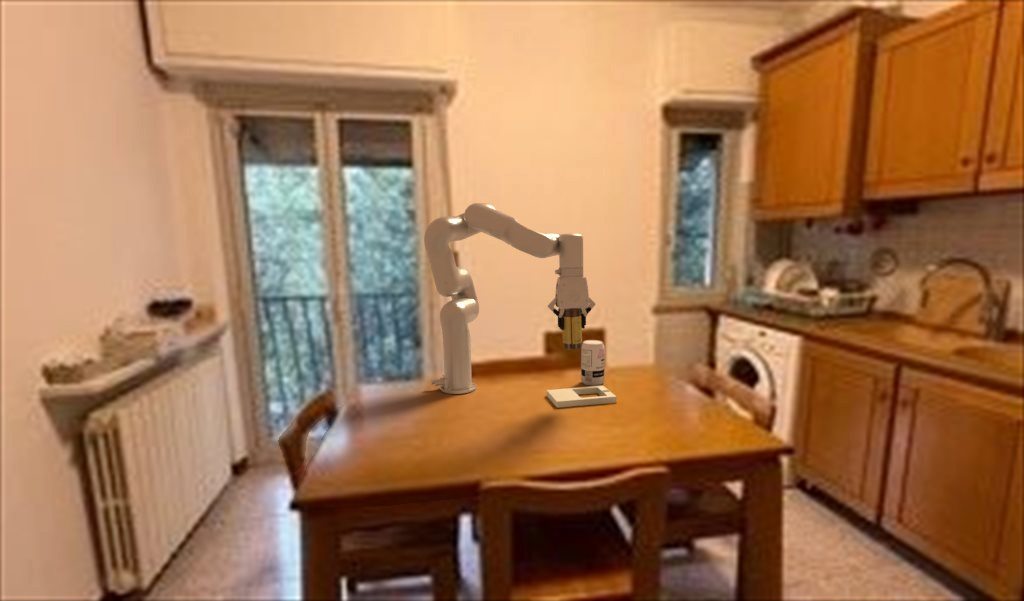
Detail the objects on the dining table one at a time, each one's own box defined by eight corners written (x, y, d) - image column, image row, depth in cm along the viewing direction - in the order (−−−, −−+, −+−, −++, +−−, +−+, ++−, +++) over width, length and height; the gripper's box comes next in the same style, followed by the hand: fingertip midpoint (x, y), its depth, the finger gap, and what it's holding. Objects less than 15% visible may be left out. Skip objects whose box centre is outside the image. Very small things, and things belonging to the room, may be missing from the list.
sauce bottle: (582, 346, 184) (582, 285, 182) (581, 350, 178) (581, 288, 175) (563, 345, 186) (562, 285, 183) (560, 350, 180) (560, 288, 177)
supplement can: (581, 379, 208) (581, 339, 205) (603, 379, 207) (604, 339, 204) (580, 385, 200) (581, 344, 198) (604, 386, 199) (605, 345, 196)
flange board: (556, 407, 178) (556, 401, 178) (546, 395, 190) (546, 389, 189) (616, 402, 182) (616, 396, 182) (602, 391, 194) (602, 385, 193)
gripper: (547, 275, 173) (548, 332, 176) (601, 272, 176) (601, 329, 179) (541, 272, 181) (542, 328, 183) (593, 270, 184) (593, 324, 186)
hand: (571, 327), depth 181 cm, fingers closed on sauce bottle, 6 cm apart
